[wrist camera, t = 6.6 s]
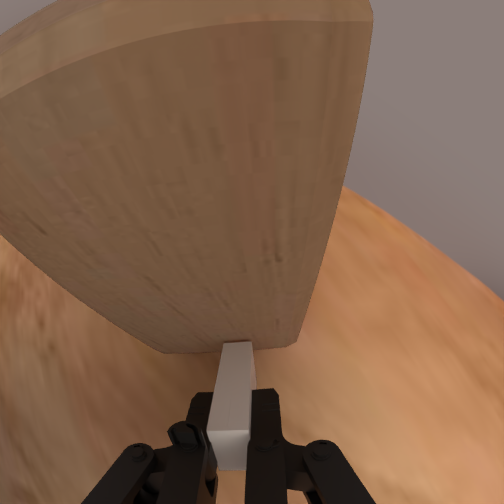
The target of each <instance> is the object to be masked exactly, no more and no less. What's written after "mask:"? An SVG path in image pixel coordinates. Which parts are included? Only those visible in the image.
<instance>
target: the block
mask: <svg viewBox="0 0 504 504" xmlns="http://www.w3.org/2000/svg"><path fill="white" fill-rule="evenodd" d="M372 29H373V11H372V8H371V5H370V2H369V0H57V1H55V2H54V3H52V4H50V5H48V6H46V7H44V8H43V9H41V10H39V11H37V12H36V13H34V14H32V15H31V16H29V17H27V18H26V19H24V20H22V21H21V22H19V23H18V24H16V25H15V26H13V27H12V28H10V29H9V30H7V31H6V32H5V33H3V34H2V35H0V234H1V235H2V236H3V237H4V238H5V239H6V240H7V241H8V242H9V243H11V244H12V245H13V246H14V247H15V248H16V249H17V250H18V251H19V252H21V253H22V254H23V255H24V256H25V257H26V258H27V259H29V260H30V261H31V262H32V263H33V264H34V265H36V266H37V267H38V268H39V269H40V270H42V271H43V272H44V273H45V274H47V275H48V276H49V277H50V278H52V279H53V280H54V281H55V282H57V283H58V284H59V285H60V286H62V287H63V288H64V289H66V290H67V291H68V292H70V293H71V294H72V295H74V296H75V297H76V298H78V299H79V300H80V301H82V302H83V303H84V304H86V305H87V306H89V307H90V308H91V309H93V310H94V311H96V312H97V313H99V314H100V315H102V316H103V317H104V318H106V319H107V320H109V321H110V322H112V323H113V324H115V325H116V326H118V327H119V328H121V329H123V330H124V331H126V332H127V333H129V334H130V335H132V336H134V337H135V338H137V339H138V340H140V341H142V342H143V343H145V344H147V345H148V346H150V347H152V348H153V349H155V350H157V351H160V352H162V353H206V352H222V349H223V344H224V343H235V342H249V341H252V348H253V350H258V349H270V348H281V347H287V346H289V345H291V344H293V343H294V342H296V341H297V338H298V335H299V332H300V329H301V326H302V323H303V320H304V317H305V314H306V311H307V308H308V305H309V302H310V299H311V296H312V293H313V289H314V286H315V283H316V280H317V276H318V273H319V270H320V266H321V263H322V260H323V256H324V253H325V249H326V246H327V242H328V239H329V235H330V232H331V228H332V224H333V220H334V217H335V213H336V209H337V205H338V201H339V198H340V194H341V190H342V186H343V181H344V177H345V173H346V168H347V165H348V160H349V156H350V151H351V147H352V142H353V137H354V133H355V128H356V123H357V119H358V114H359V108H360V103H361V98H362V92H363V87H364V81H365V75H366V69H367V63H368V57H369V50H370V43H371V35H372Z"/></svg>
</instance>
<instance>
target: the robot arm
mask: <svg viewBox="0 0 504 504" xmlns="http://www.w3.org/2000/svg"><path fill="white" fill-rule="evenodd" d="M256 384H257V381H256V373H255V365H254V356H253V348H252V341H249V342H235V343H224V344H223V349H222V354H221V359H220V364H219V369H218V374H217V379H216V384H215V389H214V392H198V393H197V394H196V395H195V396H194V397H193V398H192V400H191V404H190V408H189V411H188V414H187V418H186V421H180V422H178V423H175V424H173V425H172V426H171V427H170V428H169V429H168V431H167V432H168V435H169V437H170V439H171V442H172V444H173V445H172V446H170V447H166V448H161V449H155V450H153V449H152V448H151V447H150V446H149V445H147V444H143V443H137V444H133V445H130V446H128V447H127V448H126V449H125V450H124V451H123V452H122V454H121V455H120V456H119V457H118V459H117V460H116V461H115V462H114V464H113V465H112V466H111V467H110V469H109V470H108V471H107V472H106V474H105V475H104V476H103V477H102V479H101V480H100V481H99V482H98V484H97V485H96V486H95V487H94V488H93V490H92V491H91V492H90V493H89V495H88V496H87V497H86V498H85V499H84V501H83V502H82V503H81V504H215V503H216V494H217V486H218V477H217V474H216V470H217V465H218V468H219V470H246V485H245V504H288V502H287V489H291V490H297V491H303V493H304V495H305V497H306V499H307V502H308V504H376V503H375V502H374V500H373V499H372V497H371V496H370V494H369V493H368V491H367V490H366V488H365V487H364V485H363V484H362V482H361V481H360V479H359V478H358V476H357V475H356V473H355V472H354V470H353V469H352V467H351V466H350V464H349V463H348V461H347V460H346V458H345V457H344V455H343V454H342V452H341V450H340V449H339V447H338V446H337V445H336V444H335V443H333V442H331V441H328V440H317V441H313V442H311V443H309V444H308V445H307V446H299V445H294V444H292V443H289V442H288V441H287V440H285V438H284V437H283V435H282V428H281V416H280V405H279V395H278V393H277V392H276V391H275V390H274V388H270V389H258V390H256Z"/></svg>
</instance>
